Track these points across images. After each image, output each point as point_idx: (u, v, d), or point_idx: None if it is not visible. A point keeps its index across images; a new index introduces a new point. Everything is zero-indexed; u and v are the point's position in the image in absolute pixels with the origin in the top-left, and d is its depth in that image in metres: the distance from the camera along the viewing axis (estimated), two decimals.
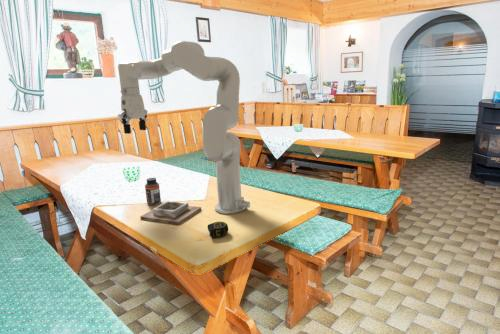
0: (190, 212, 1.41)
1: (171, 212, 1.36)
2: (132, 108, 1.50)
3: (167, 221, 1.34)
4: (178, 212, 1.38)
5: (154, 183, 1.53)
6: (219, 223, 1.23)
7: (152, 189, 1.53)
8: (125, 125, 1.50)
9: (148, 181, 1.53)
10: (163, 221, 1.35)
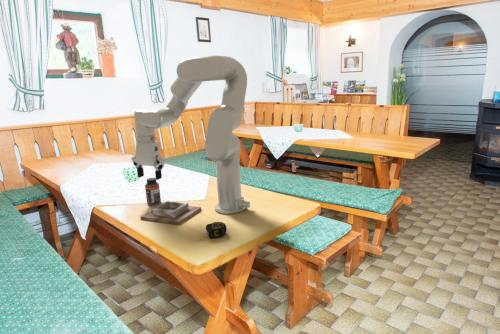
0: (190, 212, 1.41)
1: (171, 212, 1.36)
2: None
3: (167, 221, 1.34)
4: (178, 212, 1.38)
5: (154, 183, 1.53)
6: (218, 224, 1.23)
7: (152, 189, 1.53)
8: (160, 171, 1.51)
9: (148, 181, 1.53)
10: (163, 221, 1.35)
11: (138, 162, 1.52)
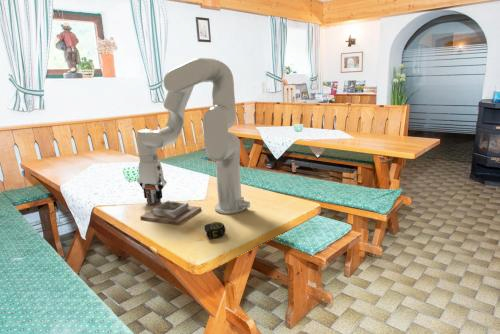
0: (190, 212, 1.41)
1: (171, 212, 1.36)
2: None
3: (167, 221, 1.34)
4: (178, 212, 1.38)
5: None
6: (216, 224, 1.22)
7: (152, 189, 1.53)
8: (160, 191, 1.54)
9: None
10: (163, 221, 1.35)
11: (141, 181, 1.54)
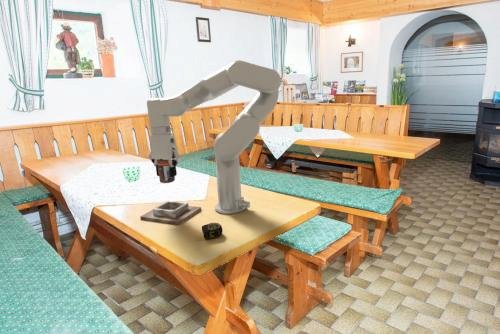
0: (190, 212, 1.41)
1: (171, 212, 1.36)
2: None
3: (167, 221, 1.34)
4: (178, 212, 1.38)
5: None
6: (214, 225, 1.22)
7: (165, 165, 1.36)
8: (174, 167, 1.38)
9: None
10: (163, 221, 1.35)
11: (153, 156, 1.38)
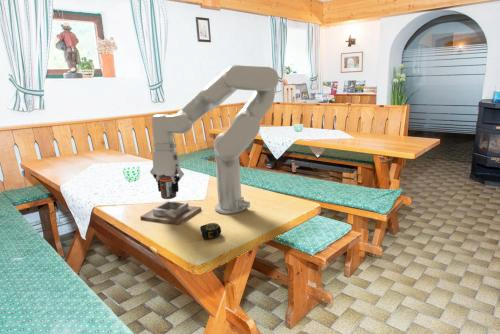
0: (190, 212, 1.41)
1: (171, 212, 1.36)
2: None
3: (167, 221, 1.34)
4: (178, 212, 1.38)
5: None
6: (212, 225, 1.22)
7: (168, 181, 1.36)
8: (177, 183, 1.38)
9: None
10: (163, 221, 1.35)
11: (155, 172, 1.38)
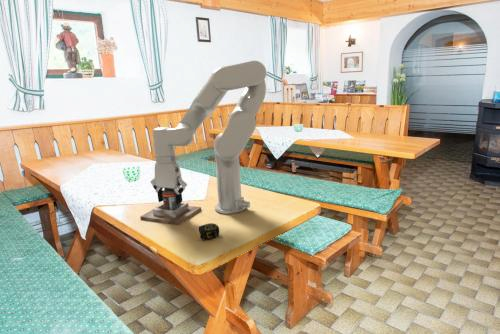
0: (190, 212, 1.41)
1: (171, 212, 1.36)
2: None
3: (167, 221, 1.34)
4: (178, 212, 1.38)
5: (172, 190, 1.39)
6: (211, 225, 1.22)
7: (171, 197, 1.38)
8: (180, 194, 1.39)
9: None
10: (163, 221, 1.35)
11: (157, 184, 1.39)
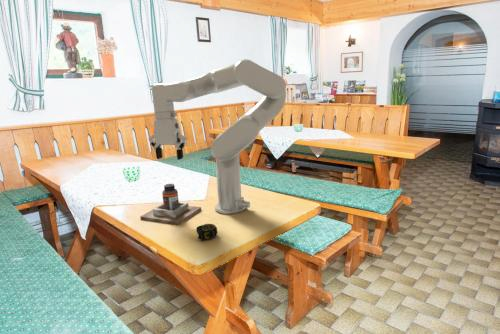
0: (190, 212, 1.41)
1: (171, 212, 1.36)
2: None
3: (167, 221, 1.34)
4: (178, 212, 1.38)
5: (172, 190, 1.39)
6: (208, 226, 1.21)
7: (171, 197, 1.38)
8: (181, 150, 1.39)
9: (166, 187, 1.38)
10: (163, 221, 1.35)
11: (157, 142, 1.40)
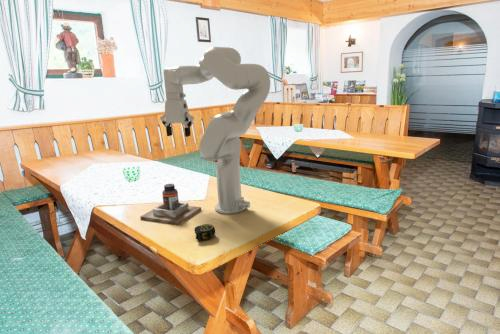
0: (190, 212, 1.41)
1: (171, 212, 1.36)
2: None
3: (167, 221, 1.34)
4: (178, 212, 1.38)
5: (172, 190, 1.39)
6: (206, 226, 1.21)
7: (171, 197, 1.38)
8: (189, 128, 1.54)
9: (166, 187, 1.38)
10: (163, 221, 1.35)
11: (167, 120, 1.55)
